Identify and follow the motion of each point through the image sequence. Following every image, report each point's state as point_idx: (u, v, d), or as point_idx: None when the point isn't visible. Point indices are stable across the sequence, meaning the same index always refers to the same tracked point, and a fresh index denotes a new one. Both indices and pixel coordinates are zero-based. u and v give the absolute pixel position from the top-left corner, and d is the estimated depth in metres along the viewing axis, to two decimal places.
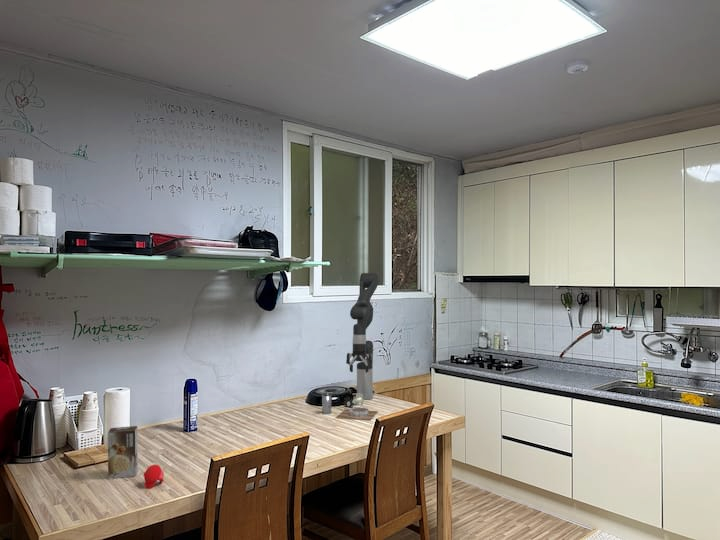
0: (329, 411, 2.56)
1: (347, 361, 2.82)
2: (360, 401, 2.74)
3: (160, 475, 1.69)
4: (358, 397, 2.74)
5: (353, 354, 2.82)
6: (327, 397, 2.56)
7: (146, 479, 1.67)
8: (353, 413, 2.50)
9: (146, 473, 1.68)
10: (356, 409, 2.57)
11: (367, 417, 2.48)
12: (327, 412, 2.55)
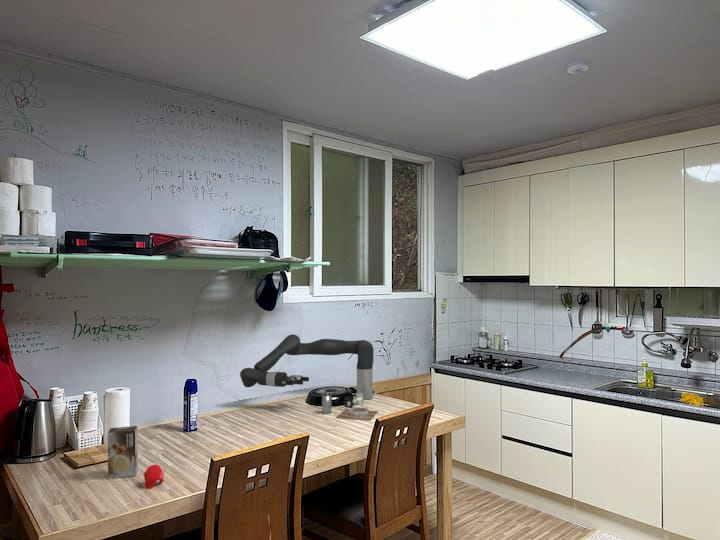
0: (329, 411, 2.56)
1: (299, 380, 2.68)
2: (360, 401, 2.74)
3: (160, 475, 1.69)
4: (358, 397, 2.74)
5: None
6: (327, 397, 2.56)
7: (146, 479, 1.67)
8: (353, 413, 2.50)
9: (146, 473, 1.68)
10: (356, 409, 2.57)
11: (367, 417, 2.48)
12: (327, 412, 2.55)
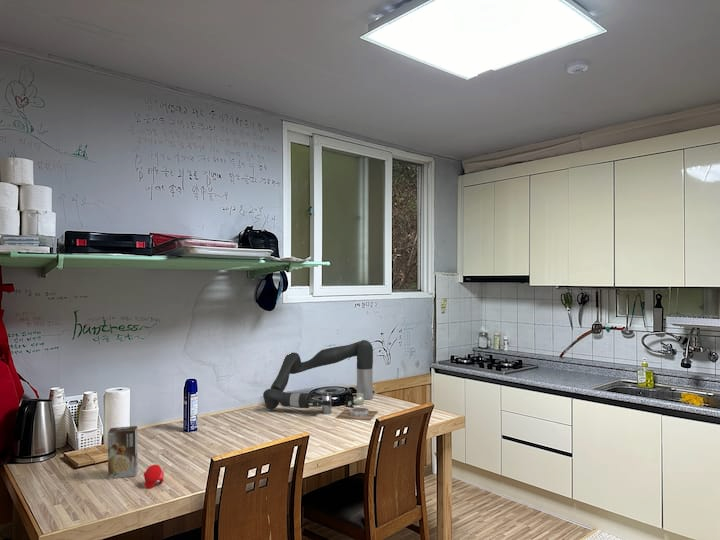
0: (329, 411, 2.56)
1: None
2: (361, 401, 2.75)
3: (160, 475, 1.69)
4: (359, 397, 2.75)
5: None
6: (327, 397, 2.56)
7: (146, 479, 1.67)
8: (353, 413, 2.50)
9: (146, 473, 1.68)
10: (356, 409, 2.57)
11: (367, 417, 2.48)
12: (327, 412, 2.55)
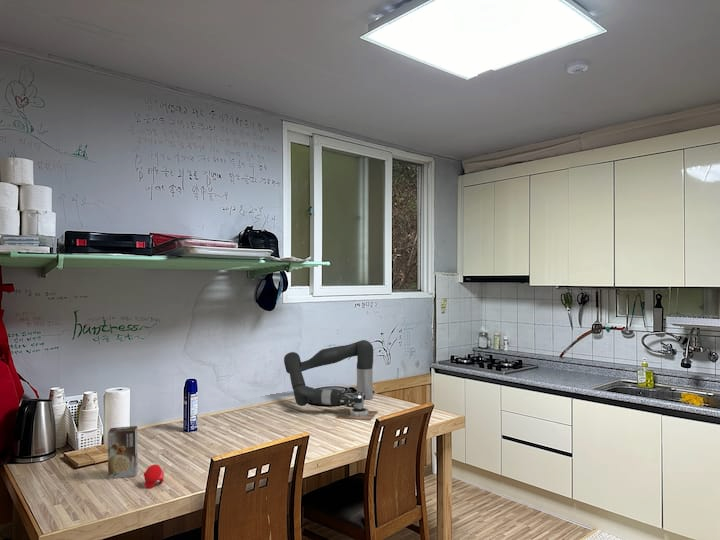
0: None
1: None
2: None
3: (160, 475, 1.69)
4: None
5: None
6: (359, 397, 2.51)
7: (146, 479, 1.67)
8: (353, 413, 2.50)
9: (146, 473, 1.68)
10: None
11: (367, 417, 2.48)
12: None
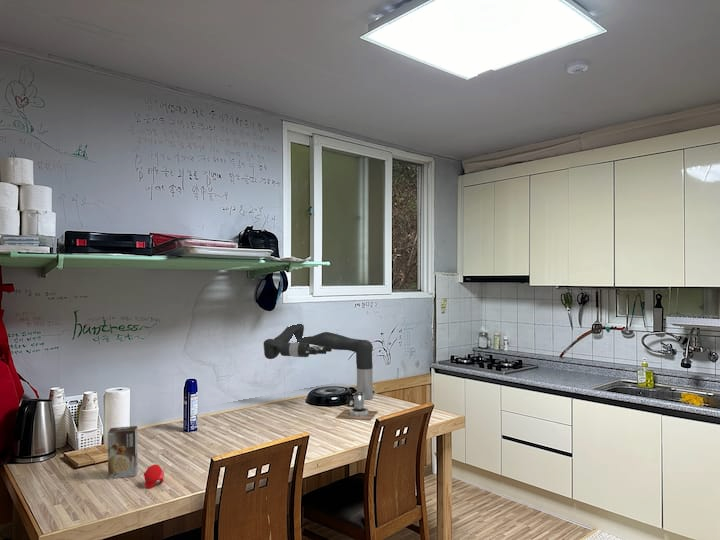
0: None
1: None
2: None
3: (160, 475, 1.69)
4: None
5: None
6: (359, 397, 2.51)
7: (146, 479, 1.67)
8: (353, 413, 2.50)
9: (146, 473, 1.68)
10: None
11: (367, 417, 2.48)
12: None
